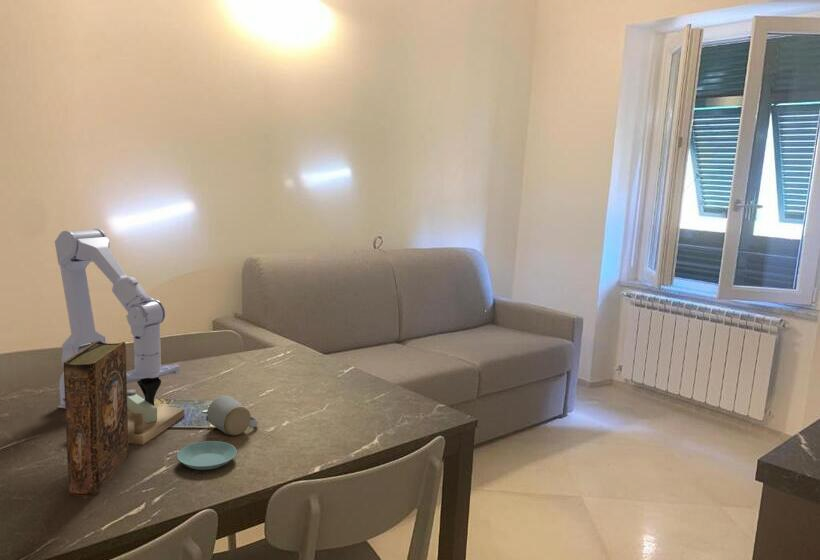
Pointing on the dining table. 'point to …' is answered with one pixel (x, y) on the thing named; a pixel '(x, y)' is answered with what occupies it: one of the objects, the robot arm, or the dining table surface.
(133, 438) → the stool seat
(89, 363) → the book
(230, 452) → the saucer
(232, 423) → the ceramic mug
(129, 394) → the leg
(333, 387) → the dining table surface
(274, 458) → the dining table surface
